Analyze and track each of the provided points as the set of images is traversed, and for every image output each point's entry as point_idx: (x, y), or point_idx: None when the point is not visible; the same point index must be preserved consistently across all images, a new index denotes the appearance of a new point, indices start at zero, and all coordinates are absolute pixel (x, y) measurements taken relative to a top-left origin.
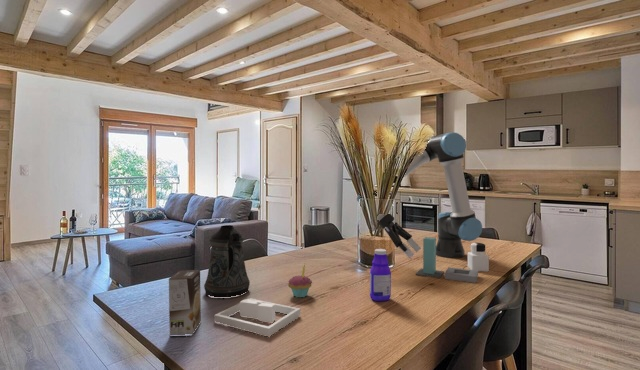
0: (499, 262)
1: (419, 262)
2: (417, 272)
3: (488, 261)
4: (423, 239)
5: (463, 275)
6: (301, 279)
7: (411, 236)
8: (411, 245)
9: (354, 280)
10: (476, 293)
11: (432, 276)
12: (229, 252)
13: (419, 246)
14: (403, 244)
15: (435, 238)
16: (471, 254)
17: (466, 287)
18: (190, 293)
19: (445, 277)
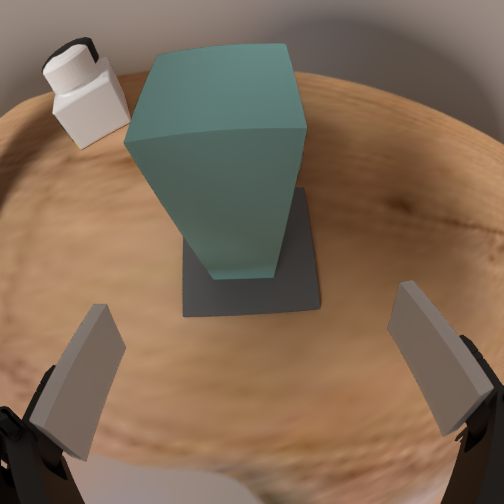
0: (32, 116)
1: (57, 351)
2: (284, 309)
3: (113, 70)
4: (305, 135)
5: None
6: None
7: (16, 418)
8: (99, 402)
9: None
10: (382, 92)
11: (308, 219)
12: None
13: (84, 318)
14: (481, 384)
15: (181, 52)
16: (90, 87)
17: (352, 107)
18: None
19: (300, 164)
